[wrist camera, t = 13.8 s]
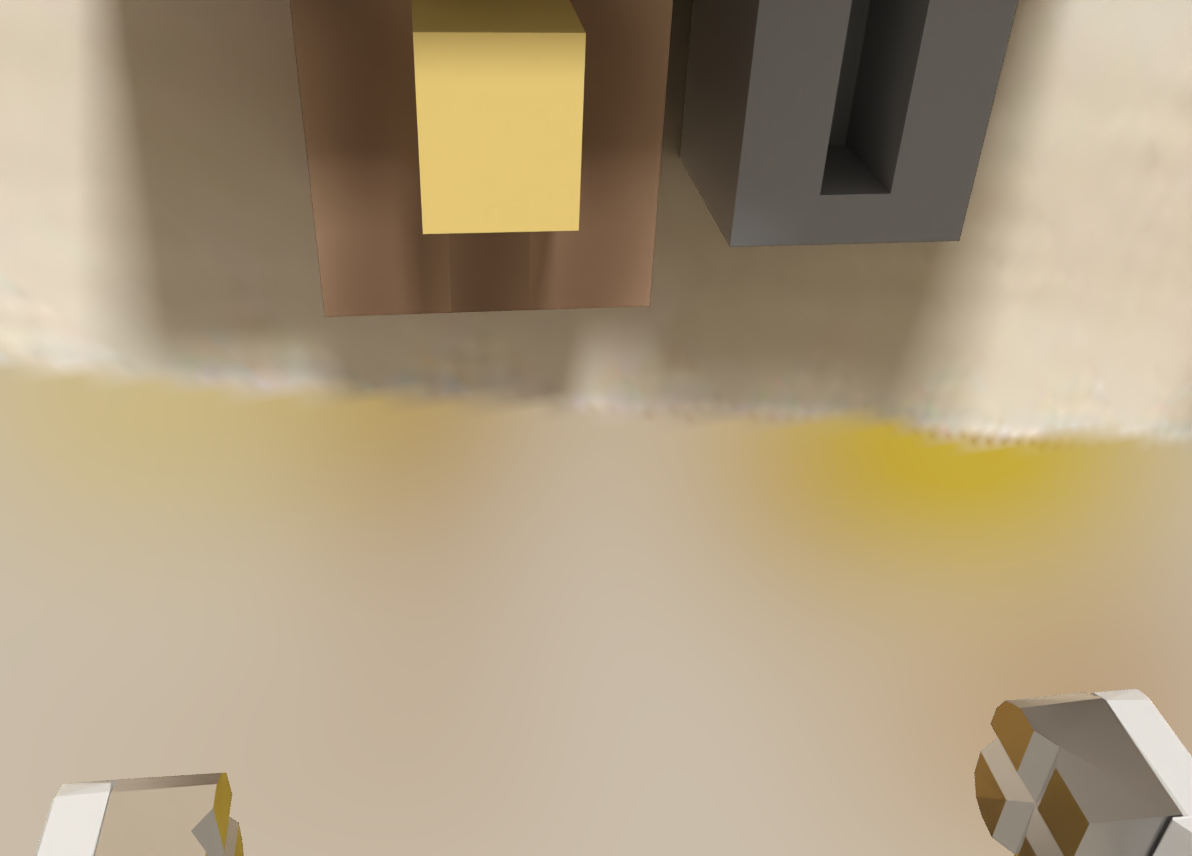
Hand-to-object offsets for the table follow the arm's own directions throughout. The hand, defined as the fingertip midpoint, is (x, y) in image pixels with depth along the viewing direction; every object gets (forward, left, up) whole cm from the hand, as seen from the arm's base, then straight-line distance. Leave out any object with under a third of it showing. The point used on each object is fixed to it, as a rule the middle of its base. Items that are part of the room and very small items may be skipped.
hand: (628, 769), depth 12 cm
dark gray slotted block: (-12, +1, -33) cm, 35 cm away
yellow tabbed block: (0, 0, -27) cm, 27 cm away
